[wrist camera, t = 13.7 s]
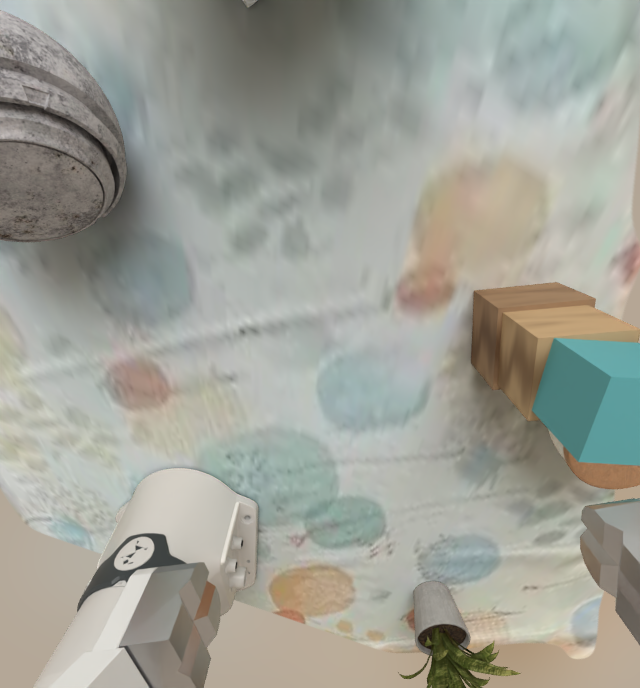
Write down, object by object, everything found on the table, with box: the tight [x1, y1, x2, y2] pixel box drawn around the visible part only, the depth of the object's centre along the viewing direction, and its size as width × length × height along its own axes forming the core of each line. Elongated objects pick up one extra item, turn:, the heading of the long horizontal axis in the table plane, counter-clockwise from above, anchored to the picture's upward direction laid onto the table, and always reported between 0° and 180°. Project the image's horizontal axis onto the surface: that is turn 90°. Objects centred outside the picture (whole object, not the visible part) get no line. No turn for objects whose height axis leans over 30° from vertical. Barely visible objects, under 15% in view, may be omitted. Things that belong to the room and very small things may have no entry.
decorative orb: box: [0, 10, 127, 242], centre depth 27 cm, size 15×14×15 cm
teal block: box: [532, 338, 640, 466], centre depth 25 cm, size 6×6×6 cm
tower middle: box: [497, 305, 640, 421], centre depth 31 cm, size 7×7×6 cm
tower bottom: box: [471, 282, 596, 390], centre depth 36 cm, size 8×8×6 cm
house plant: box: [401, 581, 520, 688], centre depth 48 cm, size 14×14×16 cm
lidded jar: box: [548, 429, 640, 489], centre depth 38 cm, size 11×11×9 cm
